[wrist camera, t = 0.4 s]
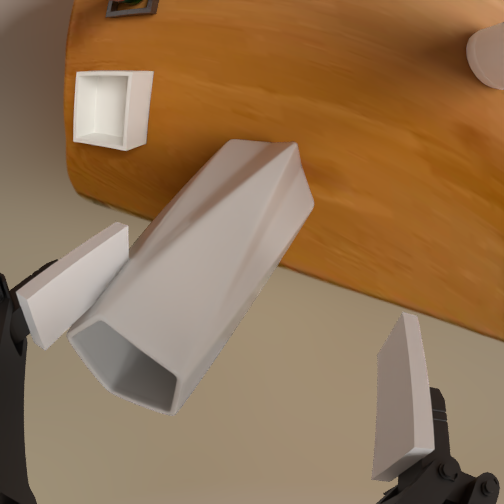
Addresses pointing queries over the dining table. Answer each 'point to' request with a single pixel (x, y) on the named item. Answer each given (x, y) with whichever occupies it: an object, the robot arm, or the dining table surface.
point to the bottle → (487, 55)
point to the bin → (112, 108)
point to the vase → (194, 274)
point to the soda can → (127, 1)
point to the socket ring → (114, 13)
